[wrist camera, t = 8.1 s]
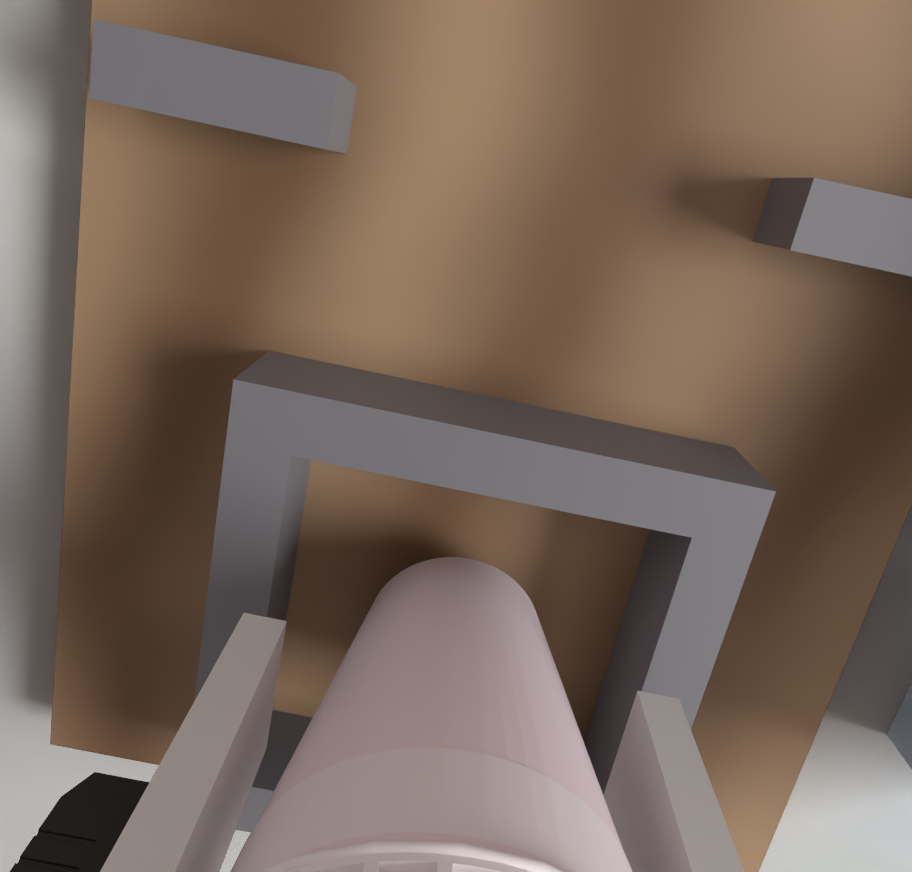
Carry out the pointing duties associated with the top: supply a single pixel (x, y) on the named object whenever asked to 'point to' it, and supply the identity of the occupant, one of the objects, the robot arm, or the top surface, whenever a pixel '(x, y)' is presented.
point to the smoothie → (441, 745)
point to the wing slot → (330, 116)
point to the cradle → (496, 475)
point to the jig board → (496, 335)
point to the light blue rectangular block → (903, 728)
